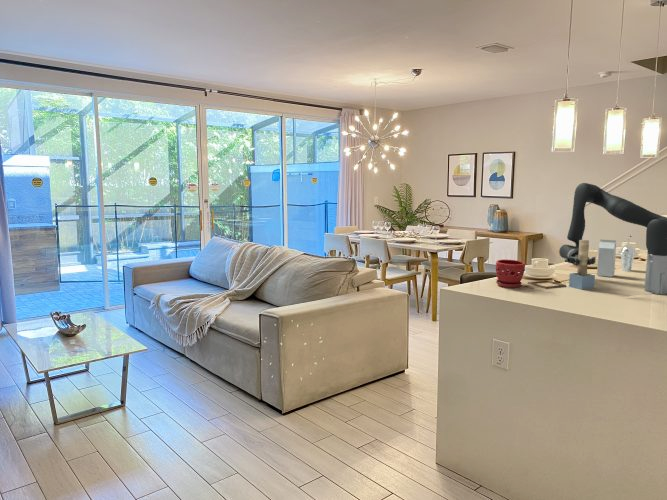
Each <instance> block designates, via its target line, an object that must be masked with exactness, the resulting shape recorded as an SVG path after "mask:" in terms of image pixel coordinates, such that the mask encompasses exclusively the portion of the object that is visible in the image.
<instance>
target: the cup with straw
mask: <svg viewBox="0 0 667 500" xmlns="http://www.w3.org/2000/svg"><path fill="white" fill-rule="evenodd" d="M630 238H632V235H629V236H628V237H627V245H625V246H622V247H621V249H620V250H619V252H618V254H620V262H621V271H625V272H631V271H632V268H633V263H634V259H635V257H636V255H637V251H636V249H635V248H634V247H633V246H631V245H630Z"/></svg>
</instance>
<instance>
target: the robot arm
mask: <svg viewBox="0 0 667 500" xmlns="http://www.w3.org/2000/svg"><path fill="white" fill-rule="evenodd" d="M587 203H589V204H594V205H595V206H599V207H601V208H603V209H604V210H606V211H607V212H608V214H610V215H611V216H613V217H615V218H617V219H619V220H621V221H623V222H625V223H626V222H627V223H630V224H633V225H638V226H641V227H645V228H646V232H645V233H646V235H645V246H646V250H647V256H646V264H645V265H646V267H645V268H646V269H645V280H644V292H647V293H652V294H656V295H667V217H666V216H663V215H660V214H657V213H654V212H653V211H650V210H648V209H646V208H644V207H642V206H640V205H637V204H636V203H634V202H632V201H630V200H628V199H625V198H623V197H620V196H617V195H614V194H611V193H610V192H607V191H606V190H604V189H602V188H601V187H599V186H598V185H595V184H592V183H587V182H582V183H579V184H578V185H577V186H576V188H575V190H574V196H573V206H572V212H571V213H572V215H571V220H570V226H569V230H568V232H567V235H566V237H567V240H568V241H571V242H573V243H574V244H575V245H570V244H563V245H561V247H560V248H559V251H558V253H559V256H560V257H561V258H562V259H564V262H565V263H568V264H571V265H574V266H576V267H578V265H579V263H580V260H579V259H578V254H579V240H583V236H584V233H585V230H586V218H585V209H586V205H587ZM596 259H597V258H596V256H593V257H591V258H590V257H589V256H588V266H590V265H594V264H596Z"/></svg>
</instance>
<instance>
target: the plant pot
mask: <svg viewBox="0 0 667 500" xmlns="http://www.w3.org/2000/svg"><path fill="white" fill-rule="evenodd" d="M525 269H526V263H525V262H524V261H520V260H515V259H497V260H496V261H495V274H496V275H495V276H496V277H497V279H496V281H495V283H496V285H498V286H500V287H504V288H513V289H514V288H519V287H521V286H522V284H523V283H522V282H521V281H522V280H523V277H524V273H525Z"/></svg>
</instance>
